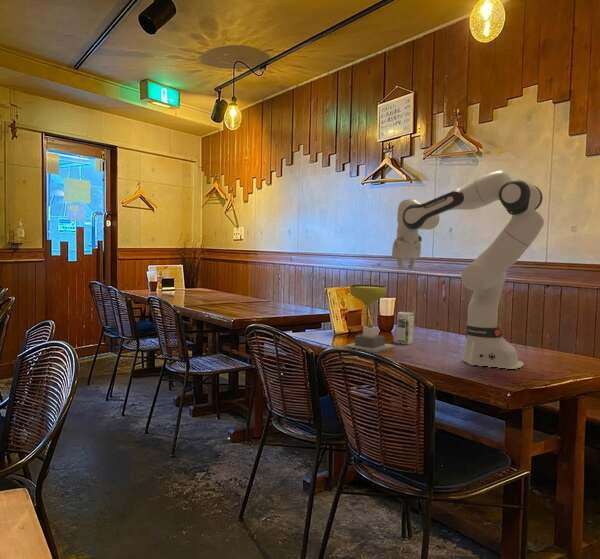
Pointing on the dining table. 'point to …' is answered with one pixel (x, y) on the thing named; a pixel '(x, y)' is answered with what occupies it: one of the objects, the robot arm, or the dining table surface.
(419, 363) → the dining table surface
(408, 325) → the syrup box
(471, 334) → the robot arm
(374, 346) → the socket
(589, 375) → the dining table surface
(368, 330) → the plug
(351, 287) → the cocktail glass
